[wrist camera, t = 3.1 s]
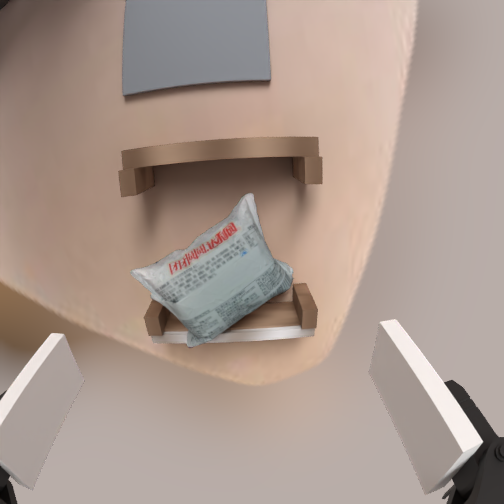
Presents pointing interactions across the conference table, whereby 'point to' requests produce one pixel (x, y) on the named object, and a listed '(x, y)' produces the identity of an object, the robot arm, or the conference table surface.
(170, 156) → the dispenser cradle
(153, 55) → the slate mat
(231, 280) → the packaged food
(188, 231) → the conference table surface
